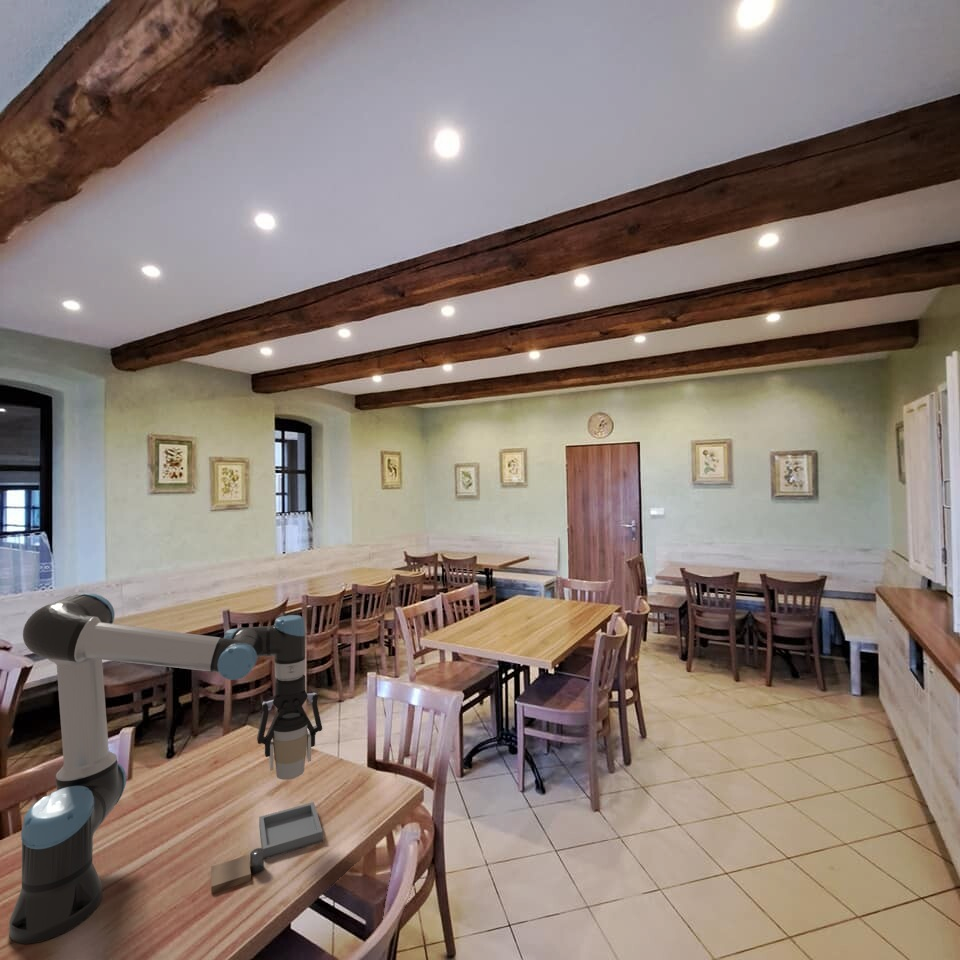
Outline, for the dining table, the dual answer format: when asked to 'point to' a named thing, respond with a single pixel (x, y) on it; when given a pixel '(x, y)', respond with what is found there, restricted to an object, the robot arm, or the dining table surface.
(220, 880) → the board
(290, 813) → the tray
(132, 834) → the dining table surface
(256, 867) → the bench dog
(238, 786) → the dining table surface
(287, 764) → the coffee cup
